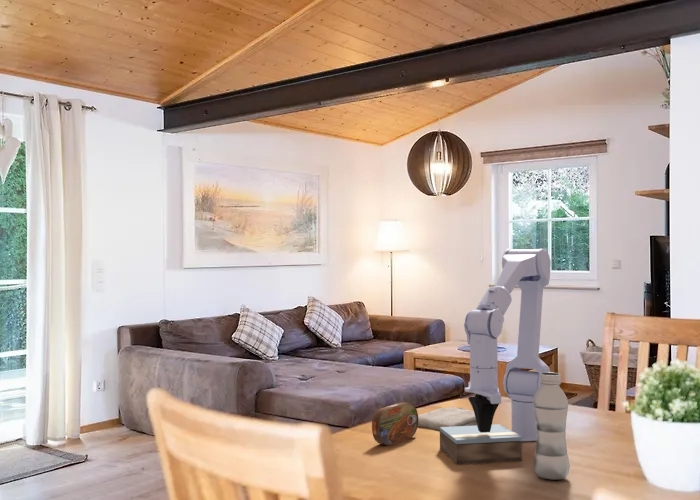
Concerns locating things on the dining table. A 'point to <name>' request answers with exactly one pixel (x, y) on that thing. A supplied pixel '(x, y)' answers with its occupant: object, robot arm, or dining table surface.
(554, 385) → the plastic bottle
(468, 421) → the washcloth
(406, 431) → the tin
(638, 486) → the dining table surface
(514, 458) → the box
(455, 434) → the lid
